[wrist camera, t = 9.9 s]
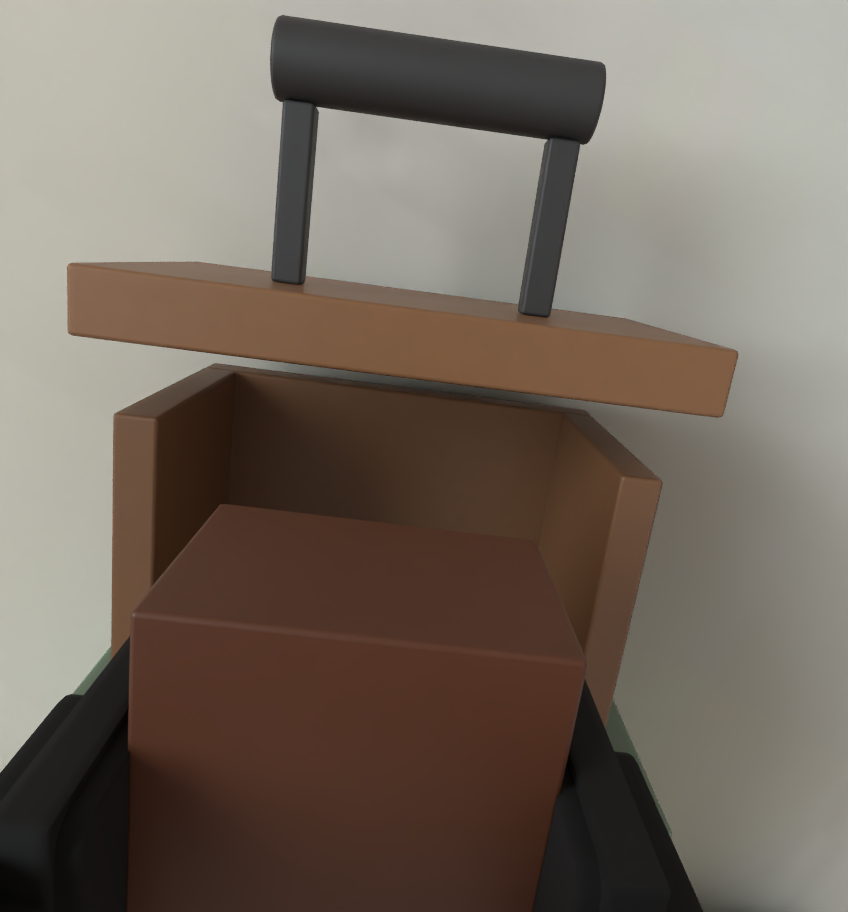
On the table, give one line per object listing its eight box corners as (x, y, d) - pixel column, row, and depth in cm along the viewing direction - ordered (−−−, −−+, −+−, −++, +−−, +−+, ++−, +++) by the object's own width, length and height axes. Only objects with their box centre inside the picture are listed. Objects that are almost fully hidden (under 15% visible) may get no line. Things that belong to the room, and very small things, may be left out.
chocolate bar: (219, 501, 9) (127, 610, 6) (536, 539, 9) (591, 662, 6) (199, 871, 11) (118, 1095, 8) (471, 897, 11) (490, 1127, 8)
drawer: (201, 59, 17) (61, -70, 10) (666, 126, 17) (818, 45, 11) (176, 710, 22) (71, 905, 15) (539, 748, 22) (589, 955, 16)
